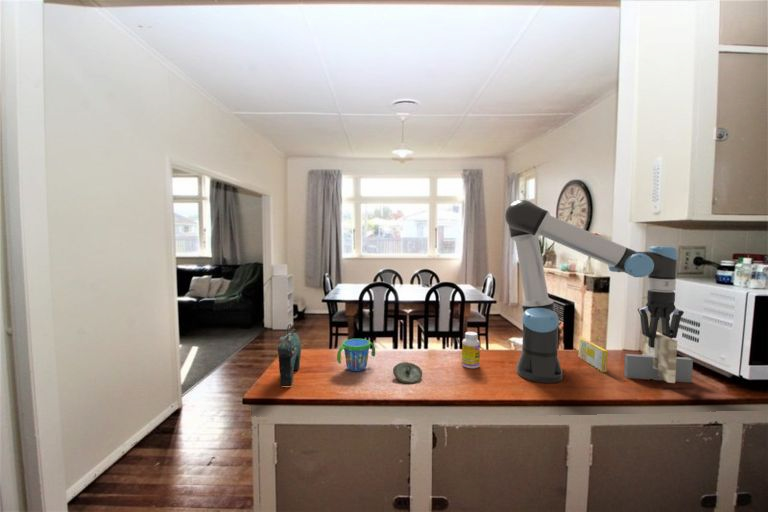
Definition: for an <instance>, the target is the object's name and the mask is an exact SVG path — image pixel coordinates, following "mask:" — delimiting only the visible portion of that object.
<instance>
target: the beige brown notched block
mask: <svg viewBox="0 0 768 512" xmlns="http://www.w3.org/2000/svg"><path fill="white" fill-rule="evenodd" d="M642 336H643V337H642V354H641V355H650V353H651V347H649V345H648V340H649V338H648V337H647V336H645V335H643V334H642ZM656 339H658V351H657V358H654V357H653V356H652V357H653V367H658V376H659V377H661V378H662V379H664V380H665V382H666V383H670V384H675V383H676V381H675V376H676V357H678V356H677V352H678V350H677V349H678V341H677V340H675V339H674V338H672V339H671V338H669V337H667V336H665V335H663V334H662V333H660V332H659V331H657V332H656ZM650 356H651V355H650ZM664 380H663V381H664Z"/></svg>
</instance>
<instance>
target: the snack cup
mask: <svg viewBox="0 0 768 512" xmlns="http://www.w3.org/2000/svg"><path fill="white" fill-rule="evenodd" d="M370 347H371V351H370V353H371V354H370V355H371V356H372V357H375V356H376V346H375V345H374V344H373V342H371V341H370V340H368V339H365V338H350V339H349V338H348V339H346V340H344V341H343V342H342V345H341V346H340V347H339V349H338V350H337V353H336V360H337V363H338V364H341V363H342V361H341V360H342V359H341V358H342V357H341V356H342V351H344V357H345V363H346V365H345V366H346V369H347V370H349V371H352V372H361V371H363V370H364V369H365V370H366V369H367V365H368V359H369V350H370Z"/></svg>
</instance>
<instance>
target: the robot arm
mask: <svg viewBox="0 0 768 512" xmlns="http://www.w3.org/2000/svg"><path fill="white" fill-rule="evenodd" d="M505 221H506V223H507V225H508V229H509V236H510V239H512V240H513V241H514V242H515V246H516V252H517V258H518V263H519V264H518V266H519V270H520V276H521V284H522V289H523V294H524V301H523V302H522V303H521V306H522V313H523V315H522V351H521V354H520V357H519V359H518V362H517V364H516V373H517V375H518V376H520V377H522V378H524V379H526V380H529V381H532V382H535V383H544V384H555V383H558V382H561V381H562V380H563V370H562V367H561V363H560V360H559V357H558V345H559V342H558V341H559V324H560V320H559V315H558V313H557V312H556V309H555V304H554V300H553V299H551V298H550V297H549V294H548V287H547V281H546V276H545V270H544V263H543V258H542V257H543V256H542V251H541V247H540V246H541V245H540V240H539V238H540V237H541V236H542V237H544V238H546V239H549V240H551V241H553V242H556V243H557V244H560V245H562V246H563V247H567V248H568V249H571V250H573V251H576V252H578V253H581V254H582V255H585V256H587V257H589V258H592V259H593V260H596V261H598V262H600V263H602V264H605V265H608V266H607V267H608V269H609V271H610V272H612V273H613V272H614V273H625V274H627V275H628V276H631V277H633V278H644V277H645V278H646V277H647V278H648V279H647V288H648V289H649V290H647V292H646V293H647V296H646V300H647V303H646V304H645V306H644V307H639V308H637V312H638V313H639V315H640V323H641V334H642V336H643V335H645V336H647V337H648V338H649V340H648V345H649V347H651V353H650V355H651V356H653V357H654V358H657V351H658V339H656V332H658V331H657V329H658V325H659V321H660V322H661V334H663V335H665V336H667V337H669V338H671V339H676V338H678V337H677V336H678V333H679V327H680V323H681V319H682V316H683V315H684V313H685V311H683V310H681V309H679V308H676V305H675V302H676V292H675V290H676V287H677V286H676V283H677V265H678V252H677V251H678V250H677V248H676V247H675V246H669V245H665V246H664V245H662V246H661V245H656V246H655V245H651V246H650V247H649V249H648V251H636V250H634V249H631V248H629V247H627V246H624V245H622V244H619V243H616V242H615V241H612V240H610V239H608V238H605V237H603V236H600V235H598V234H595V233H593V232H591V231H588V230H586V229H583V228H581V227H578V226H577V225H574V224H571V223H569V222H567V221H564V220H562V219H561V218H557V217H554V216H553V215H551V213H550V211H548V210H546V209H544V208H541V207H540V206H538V205H536V204H535V203H533V202H531V201H529V200H528V199H527V200H526V199H519V200H515V201H513V202H512V203H510V205H508V207H507V209H506V210H505ZM648 313H649V316H648ZM649 318H650V320H649ZM660 319H661V320H660ZM670 320H671V321H670Z"/></svg>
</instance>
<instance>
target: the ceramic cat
mask: <svg viewBox="0 0 768 512" xmlns="http://www.w3.org/2000/svg"><path fill="white" fill-rule="evenodd" d="M291 327H292V324H291V323H290V324H288V325H287V329H286V335H285V336H284V335H282V336H280V337H279V339H278V343H277V355H278V367H279V368H278V369H279V378H280V379H279V382H280V387H281V386H291V385H292V386H293V384H292V383H294V371H293V370H297V369H299V370H300V365H301V363H300V362H301V355H302V344H301V340H300V339H301V338H300V335H299V334H298V333H297V329H295V328H293V329H292V330H291V332H289V328H291ZM297 371H298V370H297Z"/></svg>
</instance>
